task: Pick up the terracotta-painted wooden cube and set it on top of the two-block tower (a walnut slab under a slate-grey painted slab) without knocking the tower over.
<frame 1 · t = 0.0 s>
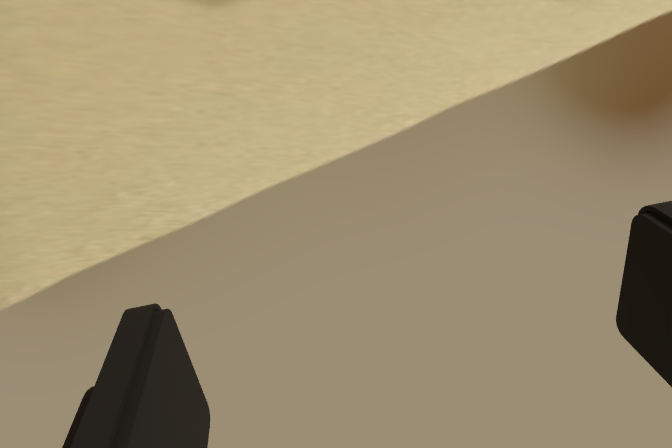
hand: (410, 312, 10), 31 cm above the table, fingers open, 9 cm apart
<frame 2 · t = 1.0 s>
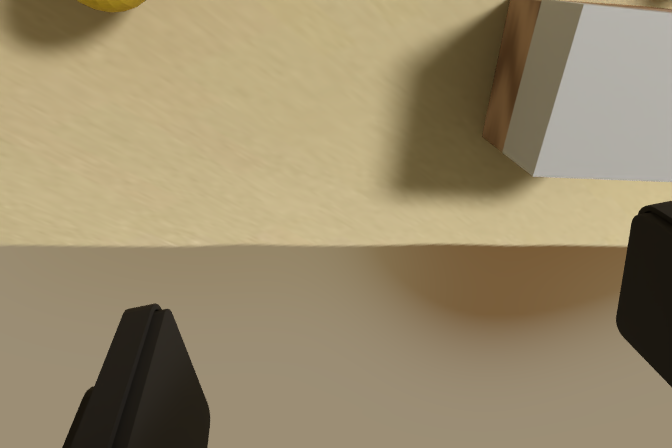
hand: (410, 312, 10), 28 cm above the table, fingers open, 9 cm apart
tower top: (588, 86, 34), point 4 cm above the table, touching tower base
tower base: (555, 73, 38), on the table, touching tower top
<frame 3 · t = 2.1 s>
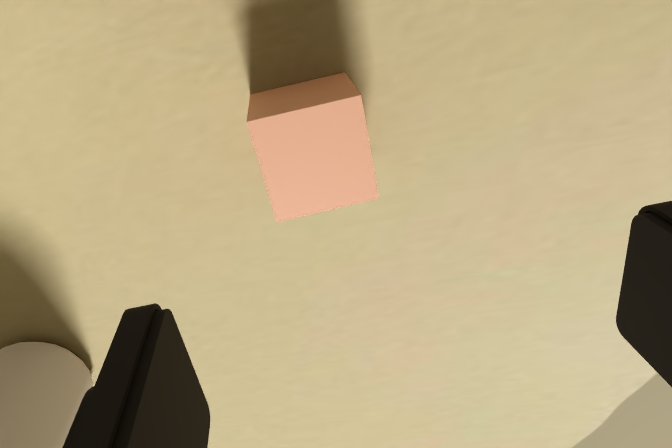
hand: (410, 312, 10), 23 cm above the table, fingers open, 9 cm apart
can: (45, 369, 38), on the table
block: (308, 128, 32), on the table
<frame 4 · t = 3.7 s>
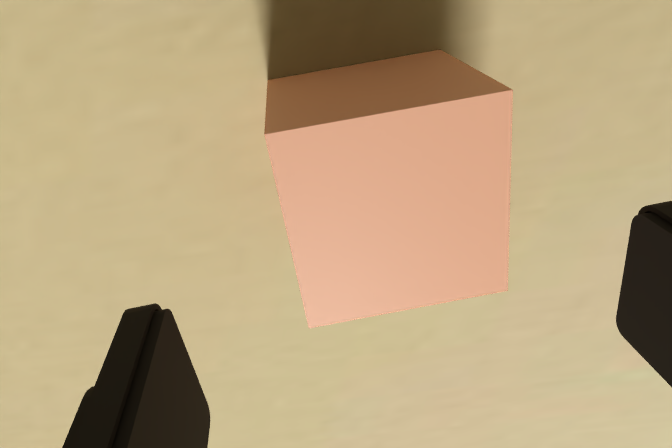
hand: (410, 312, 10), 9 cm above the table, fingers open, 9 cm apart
block: (364, 146, 18), on the table
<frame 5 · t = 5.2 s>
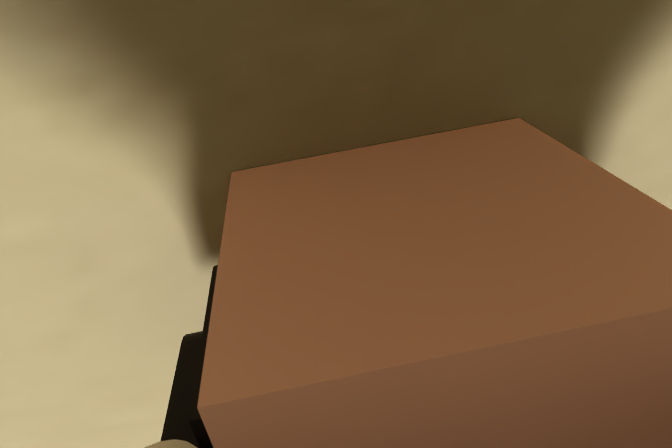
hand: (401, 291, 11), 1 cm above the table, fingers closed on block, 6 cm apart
block: (390, 265, 12), on the table, touching gripper
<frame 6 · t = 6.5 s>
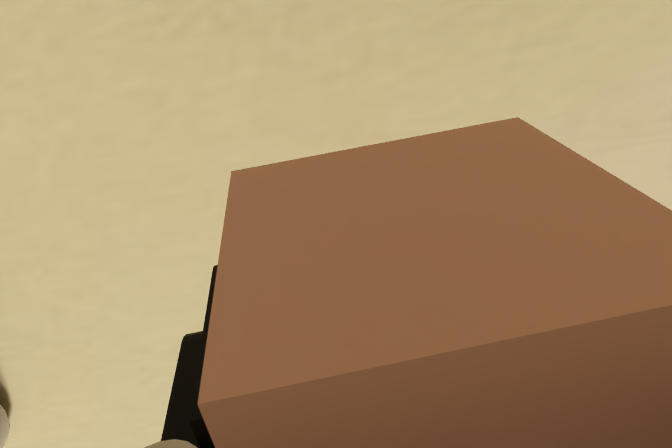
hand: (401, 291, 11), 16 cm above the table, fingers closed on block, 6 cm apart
block: (390, 264, 12), point 15 cm above the table, touching gripper
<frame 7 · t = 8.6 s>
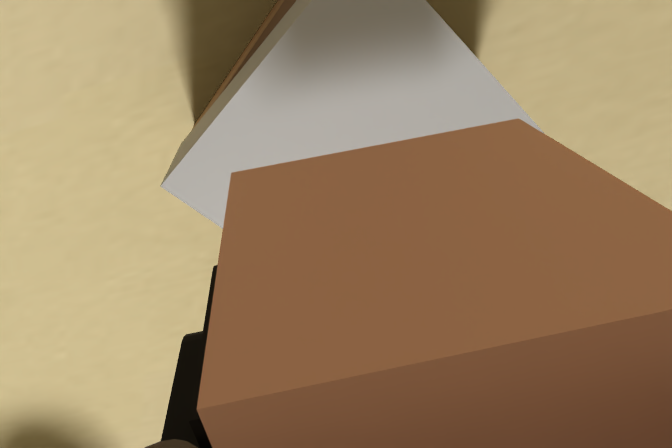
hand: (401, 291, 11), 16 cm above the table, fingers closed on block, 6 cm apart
tower top: (349, 130, 21), point 4 cm above the table, touching tower base
tower base: (335, 101, 25), on the table, touching tower top
block: (390, 266, 12), point 15 cm above the table, touching gripper
when the fingers open (11 cm above the table, at t = 10.1 s): block drops 1 cm, resting on tower top.
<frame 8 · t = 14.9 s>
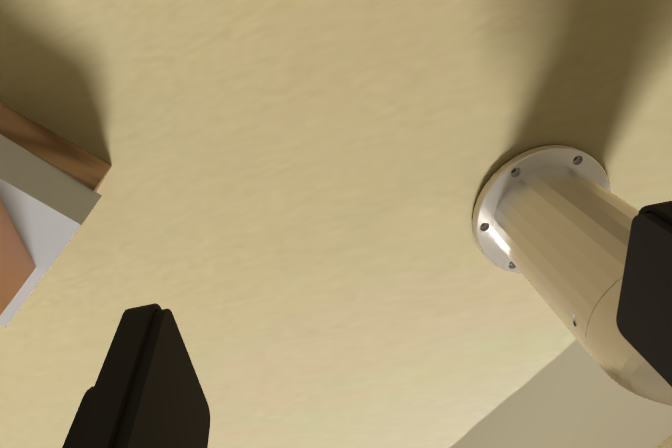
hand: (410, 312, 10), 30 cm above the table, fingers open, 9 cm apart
tower base: (21, 179, 38), on the table, touching tower top
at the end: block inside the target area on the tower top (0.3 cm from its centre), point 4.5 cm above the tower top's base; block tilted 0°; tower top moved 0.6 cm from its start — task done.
